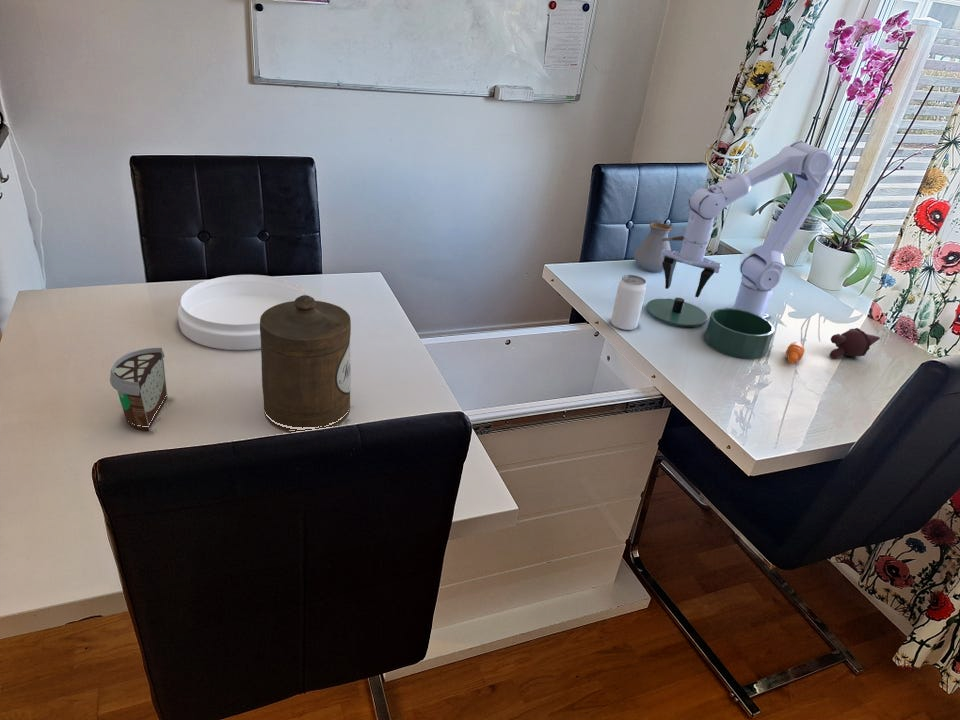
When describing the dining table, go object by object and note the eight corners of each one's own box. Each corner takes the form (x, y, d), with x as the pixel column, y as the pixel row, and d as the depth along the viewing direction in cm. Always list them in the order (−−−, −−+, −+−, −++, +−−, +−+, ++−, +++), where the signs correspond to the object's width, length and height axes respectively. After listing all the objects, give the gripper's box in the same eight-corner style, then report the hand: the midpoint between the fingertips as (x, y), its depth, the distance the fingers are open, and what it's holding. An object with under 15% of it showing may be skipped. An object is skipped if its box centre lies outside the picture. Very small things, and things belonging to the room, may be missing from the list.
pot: (721, 325, 169) (728, 303, 166) (776, 347, 160) (784, 325, 157) (693, 340, 159) (699, 317, 156) (749, 365, 151) (757, 341, 148)
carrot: (796, 355, 159) (785, 344, 159) (809, 346, 157) (798, 335, 157) (791, 371, 152) (779, 359, 152) (804, 361, 149) (792, 350, 150)
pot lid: (665, 297, 181) (669, 282, 178) (717, 318, 172) (721, 303, 169) (633, 311, 171) (637, 295, 168) (686, 334, 162) (691, 318, 159)
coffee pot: (624, 260, 203) (635, 212, 196) (657, 259, 207) (668, 212, 199) (662, 289, 186) (675, 237, 178) (696, 287, 189) (711, 237, 182)
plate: (296, 290, 161) (295, 269, 159) (324, 341, 141) (323, 318, 138) (174, 301, 150) (171, 278, 147) (185, 358, 129) (182, 333, 127)
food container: (133, 394, 117) (124, 344, 113) (170, 395, 118) (163, 346, 113) (106, 436, 107) (94, 382, 102) (146, 437, 108) (137, 384, 103)
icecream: (867, 320, 164) (819, 329, 159) (894, 327, 157) (845, 336, 153) (864, 347, 166) (817, 357, 161) (891, 355, 159) (842, 365, 155)
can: (637, 332, 160) (648, 286, 154) (609, 328, 160) (619, 282, 155) (636, 321, 165) (647, 276, 159) (610, 317, 166) (620, 272, 160)
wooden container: (363, 421, 117) (365, 308, 106) (280, 443, 110) (273, 323, 99) (331, 380, 128) (330, 274, 117) (253, 398, 120) (244, 285, 109)
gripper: (661, 236, 161) (649, 288, 168) (722, 251, 155) (707, 304, 162) (670, 230, 167) (658, 280, 173) (728, 244, 161) (713, 295, 167)
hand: (682, 291), depth 168 cm, fingers open, 7 cm apart
